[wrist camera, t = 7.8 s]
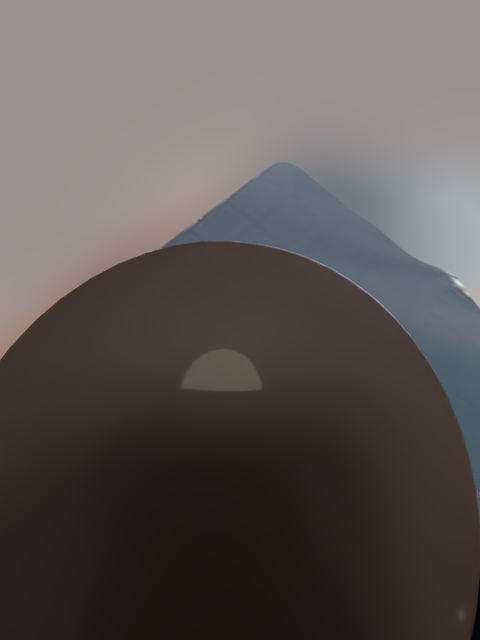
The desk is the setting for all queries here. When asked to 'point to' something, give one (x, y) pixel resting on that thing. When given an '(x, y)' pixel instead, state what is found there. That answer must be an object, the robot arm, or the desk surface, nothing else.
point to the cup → (230, 461)
